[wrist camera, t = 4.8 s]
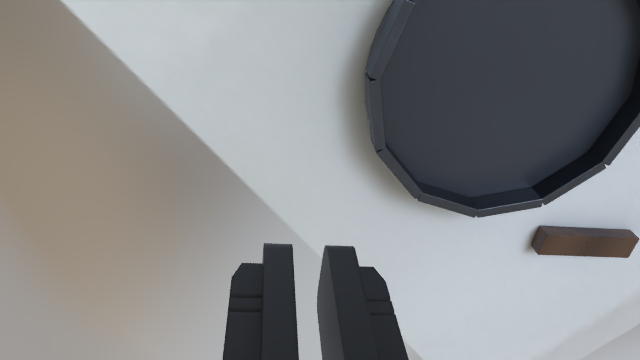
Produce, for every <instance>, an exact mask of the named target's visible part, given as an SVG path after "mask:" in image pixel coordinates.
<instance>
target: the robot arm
mask: <svg viewBox="0 0 640 360" xmlns="http://www.w3.org/2000/svg"><path fill="white" fill-rule="evenodd" d="M317 313H318V323H319V332H320V341H321V351H322V360H409V359H408V356H407V353H406V349H405V346H404V343H403V339H402V336H401V332H400V329H399V326H398V322H397V319H396V315H395V314H394V309H393V305H392V302H391V301H390V295H389V292H388V288H387V285H386V281H385V280H384V279H383V278H382V277H381V275H380V274H379V273H378V272H377V271H376V269H375V268H374V267H359V264H358V260H357V256H356V251H355V248H354V247H353V246H325V248H324V253H323V259H322V266H321V273H320V280H319V286H318V296H317ZM223 360H299V356H298V337H297V319H296V302H295V283H294V265H293V247H292V244H269V243H264V248H263V263H262V264H256V263H255V264H254V263H242V264H241V265H240V266H239V268H238V270H237V271H236V272H235V274H234V275H233V276H232V280H231V289H230V299H229V307H228V316H227V325H226V334H225V343H224V352H223Z"/></svg>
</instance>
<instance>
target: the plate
mask: <svg viewBox="0 0 640 360" xmlns="http://www.w3.org/2000/svg"><path fill="white" fill-rule="evenodd" d="M365 104H366V110H367V115H368V120H369V124H370V134H371V140H372V143H373V146H374V148H375V150H376V153H377V155H378V156H379V157H380V158H381V159H382V161H383V162H384V163H385V164H386V165H387V166H388V168H389V169H390V170H391V171H392V172H393V174H394V175H395V176H396V177H397V178H398V180H399V181H400V182H401V183H402V184H403V185H404V187H405V188H406V189H407V190H408V191H409V193H410V194H411V195H412V196H413V197H414V199H416V198H417V200H418V201H421V202H424V203H427V204H431V205H434V206H437V207H441V208H444V209H447V210H451V211H454V212H457V213H461V214H464V215H467V216H471V217H475V216H477V217H478V218H479V217H485V216H491V215H496V214H502V213H508V212H514V211H520V210H526V209H531V208H537V207H541V206H542V203H543V204H544V205H546V204H548V203H550V202H551V201H553V200H555V199H556V198H558V197H560V196H561V195H563V194H565V193H566V192H568V191H569V190H571V189H573V188H574V187H576V186H578V185H579V184H581V183H583V182H584V181H586V180H587V179H589V178H591V177H592V176H594V175H596V174H597V173H599V172H601V171H602V170H604V169H605V168H606V167H605V165H604V164H606V165H610V164H611V163H612V161H613V160H614V159H615V157H616V156H617V155H618V154H619V152H620V151H621V150H622V149H623V147H624V146H625V145H626V143H627V142H628V141H629V140H630V138H631V137H632V136H633V134H634V133H635V132H636V131H637V129H638V128H639V127H640V0H394V1H393V3H392V4H391V6H390V7H389V9H388V10H387V12H386V14H385V16H384V18H383V20H382V22H381V24H380V26H379V28H378V30H377V33H376V35H375V38H374V41H373V43H372V46H371V49H370V54H369V58H368V62H367V66H366V73H365Z"/></svg>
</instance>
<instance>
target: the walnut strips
mask: <svg viewBox="0 0 640 360" xmlns="http://www.w3.org/2000/svg"><path fill="white" fill-rule="evenodd" d="M638 240H639V238H638V237H637V236H636V235H635V234H634V233H633V232H632V231H631V230H621V229H599V228H576V227H553V226H539V228H538V230H537V233H536V235H535V237H534V240H533V242H532V244H531V246H532V247H533V249H534V250H535V251H536V253H537V254H538V255H565V256H593V257H621V258H628V257H629V256H630V254H631V252H632V251H633V249H634V247H635V245H636V244H637V242H638Z"/></svg>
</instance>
